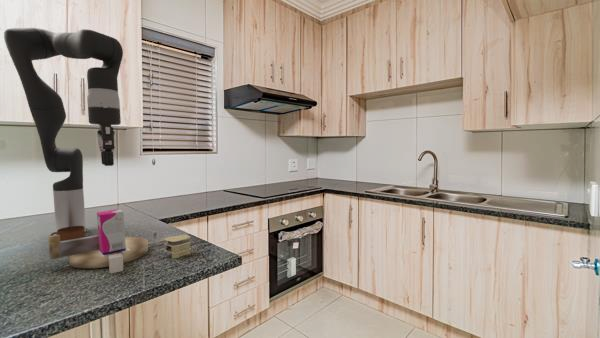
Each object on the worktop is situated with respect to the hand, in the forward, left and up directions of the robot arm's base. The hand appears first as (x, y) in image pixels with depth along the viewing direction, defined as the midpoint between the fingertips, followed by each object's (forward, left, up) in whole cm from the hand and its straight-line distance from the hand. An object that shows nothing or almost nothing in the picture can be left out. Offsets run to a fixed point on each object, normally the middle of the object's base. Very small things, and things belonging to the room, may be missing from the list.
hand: (107, 165), depth 84 cm
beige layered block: (+6, +16, -29) cm, 34 cm away
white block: (+8, 0, -28) cm, 29 cm away
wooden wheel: (-5, -2, -28) cm, 28 cm away
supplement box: (0, 0, -25) cm, 25 cm away
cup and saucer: (-26, -10, -28) cm, 39 cm away
